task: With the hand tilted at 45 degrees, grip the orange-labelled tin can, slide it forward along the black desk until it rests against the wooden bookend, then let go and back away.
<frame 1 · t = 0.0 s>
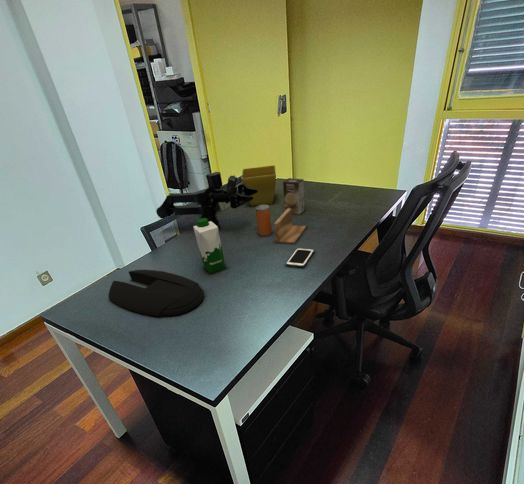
hand: (255, 194, 155), 17 cm above the table, tool horizontal, fingers open, 9 cm apart
wooden bookend: (284, 234, 157), on the table
coffee box: (294, 212, 178), on the table
cell phone: (300, 258, 136), on the table
cardboard box: (262, 202, 196), on the table
tin can: (265, 233, 160), on the table
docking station: (158, 295, 127), on the table
milk carton: (215, 268, 139), on the table
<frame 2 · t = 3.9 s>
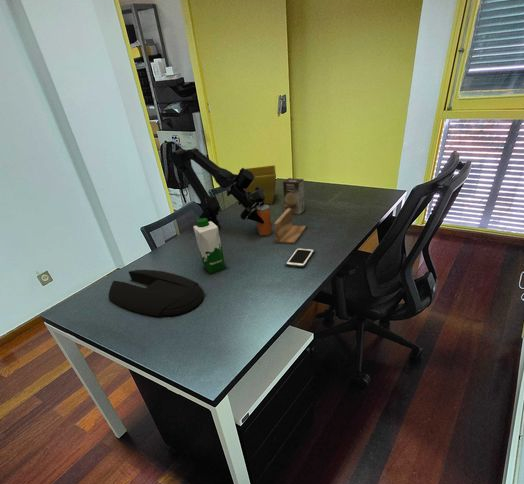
hand: (266, 220, 155), 7 cm above the table, tool tilted 45°, fingers closed on tin can, 6 cm apart
tin can: (265, 233, 160), on the table, touching gripper
everything else where it was.
when the fingers open (7 cm above the table, at t = 7.2 s): tin can stays where it is, on the table.
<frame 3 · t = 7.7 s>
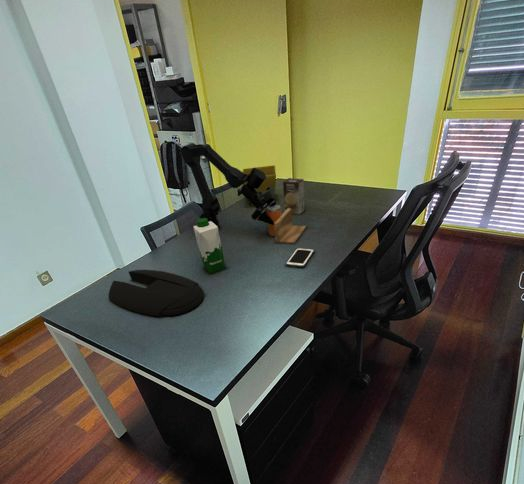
hand: (277, 220, 153), 7 cm above the table, tool tilted 45°, fingers open, 9 cm apart
tin can: (275, 233, 158), on the table
everything else where it was.
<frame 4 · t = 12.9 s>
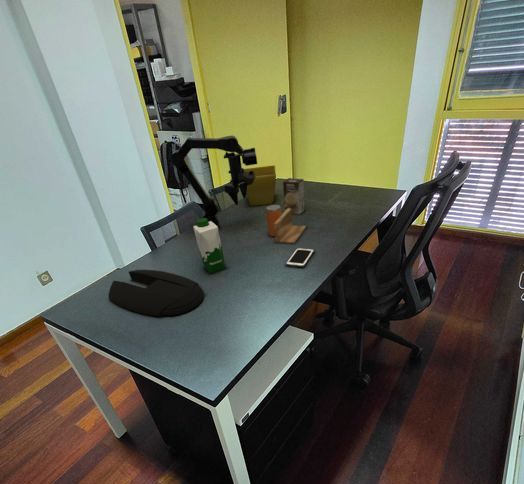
hand: (240, 201, 164), 12 cm above the table, tool pointing down, fingers open, 9 cm apart
nothing on the table moved.
at the end: tin can 4.4 cm from the wooden bookend (horizontally); tin can tilted 0°; the gripper is holding nothing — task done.
